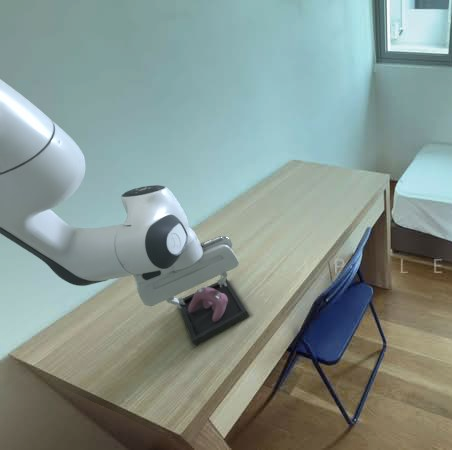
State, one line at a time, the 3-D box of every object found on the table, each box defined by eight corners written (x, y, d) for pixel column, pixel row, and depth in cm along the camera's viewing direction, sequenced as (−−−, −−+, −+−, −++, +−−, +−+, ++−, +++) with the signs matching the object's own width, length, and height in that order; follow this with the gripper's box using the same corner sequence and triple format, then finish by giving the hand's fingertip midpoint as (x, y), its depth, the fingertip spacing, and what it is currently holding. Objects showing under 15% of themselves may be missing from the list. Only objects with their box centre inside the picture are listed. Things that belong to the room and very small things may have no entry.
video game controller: (230, 317, 79) (231, 291, 78) (214, 324, 75) (215, 297, 74) (203, 307, 83) (203, 282, 81) (186, 313, 78) (186, 287, 77)
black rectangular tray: (196, 346, 72) (192, 341, 71) (180, 306, 82) (176, 301, 81) (249, 316, 78) (247, 311, 77) (228, 282, 89) (226, 277, 88)
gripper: (223, 227, 76) (241, 269, 84) (122, 267, 65) (154, 310, 73) (231, 238, 72) (250, 281, 80) (125, 282, 61) (158, 326, 69)
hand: (203, 295), depth 76 cm, fingers open, 8 cm apart
